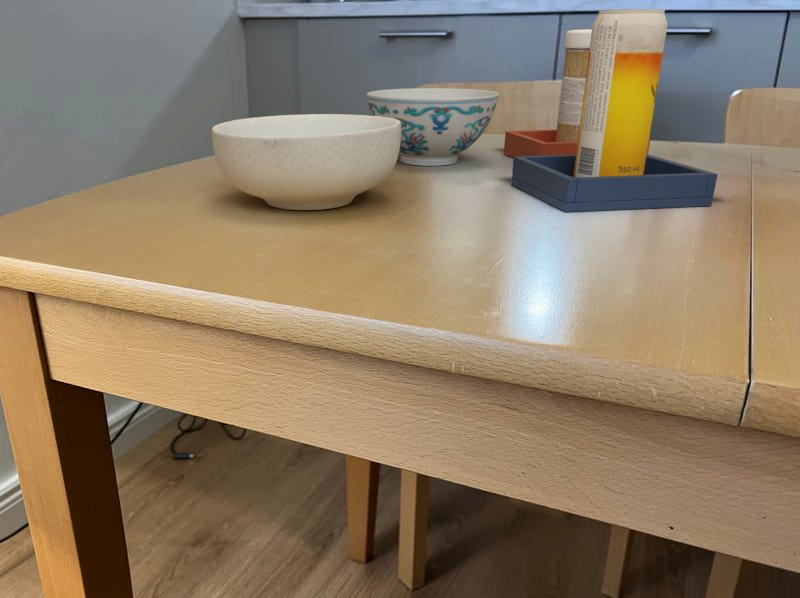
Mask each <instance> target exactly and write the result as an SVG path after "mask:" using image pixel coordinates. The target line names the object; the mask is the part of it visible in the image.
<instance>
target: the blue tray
mask: <svg viewBox="0 0 800 598" xmlns="http://www.w3.org/2000/svg"><path fill="white" fill-rule="evenodd" d="M575 161H576V155H548V156H522V157H521V156H518V157H514V158H513V162H512V173H511V184H510V185H511V186H513V187H515V188H517V189H519V190H521V191H523V192H525V193H527V194H529V195H531V196H533V197H535V198H537V199H539V200H541V201H542V202H545V203H547V204H549V205H550V206H552V207H554V208H557V209H558V210H560V211H562V212H564V213H576V212H577V213H578V212H580V213H581V212H600V211H625V210H627V211H628V210H648V209H670V208H674V209H675V208H695V207H712V204H713V200H714V194H715V190H716V186H717V185H716V184H717V180H718V173H716V172H713V171H708V170H705V169H701V168H698V167H694V166H691V165H688V164H683V163H680V162H677V161H673V160H669V159H666V158H662V157H659V156H655V155H651V154H649V153H648V154H647V155H646V161H645V167H644V173H643V175H629V176H601V177H574V169H575Z"/></svg>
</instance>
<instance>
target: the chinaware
mask: <svg viewBox="0 0 800 598" xmlns="http://www.w3.org/2000/svg"><path fill="white" fill-rule="evenodd" d="M366 100H367V105H368V110H369V114H370V116H380V117H388V118H393V119H397V120H399V121H400V123H401V143H400V149H399V154H400V159H399V161H400V162H401V163H403V164H406V165H412V166H421V167H424V166H425V167H439V166H449V165H454V164H456V163H457V162H458V158H459V157H458V156H459V154H461V153H463V152H464V151H466V150H468V149H469V148H470V147H471V146H472V145H474V143H476V142H477V141H478V139H479V138H480V137H481V136H482V135H483V133H484V132H485V131H486V129H487V128H488V126H489V124H490V122H491V120H492V118H493V115H494V112H495V110H496V106H497V103H498V100H499V93H498V92H497V91H492V90H485V89H474V88H472V89H471V88H447V87H445V88H444V87H443V88H441V87H421V88H419V87H418V88H415V87H414V88H413V87H412V88H390V89H389V88H388V89H380V90H372V91H368V92H367V93H366Z"/></svg>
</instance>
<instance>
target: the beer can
mask: <svg viewBox="0 0 800 598" xmlns="http://www.w3.org/2000/svg"><path fill="white" fill-rule="evenodd" d="M665 12H666V9H655V8H654V9H611V10H610V9H607V10H606V9H605V10H603V9H602V10H599V11H598V14H597V17H595V20H594V22H593V23H592V26H591V29H592V33H591V41H590V49H589V57H588V65H587V73H586V81H585V89H584V97H583V105H582V113H581V121H580V129H579V137H578V145H577V153H576V161H575V169H574V177H601V176H629V175H643V173H644V167H645V161H646V155H647V149H648V142H649V140H650V136H651V130H652V123H653V118H654V117H653V116H654V111H655V104H656V99H657V92H658V86H659V80H660V74H661V68H662V63H663V56H664V51H665V43H666V38H667V37H666V36H667V31H668V25H669V24H668V20H667V18H666V14H665Z"/></svg>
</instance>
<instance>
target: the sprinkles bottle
mask: <svg viewBox="0 0 800 598" xmlns="http://www.w3.org/2000/svg"><path fill="white" fill-rule="evenodd" d="M591 33H592V28H591V29H590V28H589V29H572V30H571V29H569V30H567V31H566V33H565V39H564V49H565V50H564V53H565V55H564V64H563V71H562V77H561V88H560V95H559V99H558V100H559V102H558V110H557V117H556V118H557V119H556V122H557V124H556V130H557V132H556V141H555V142H578V137H579V129H580V121H581V113H582V105H583V97H584V89H585V81H586V73H587V65H588V57H589V49H590V41H591Z"/></svg>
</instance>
